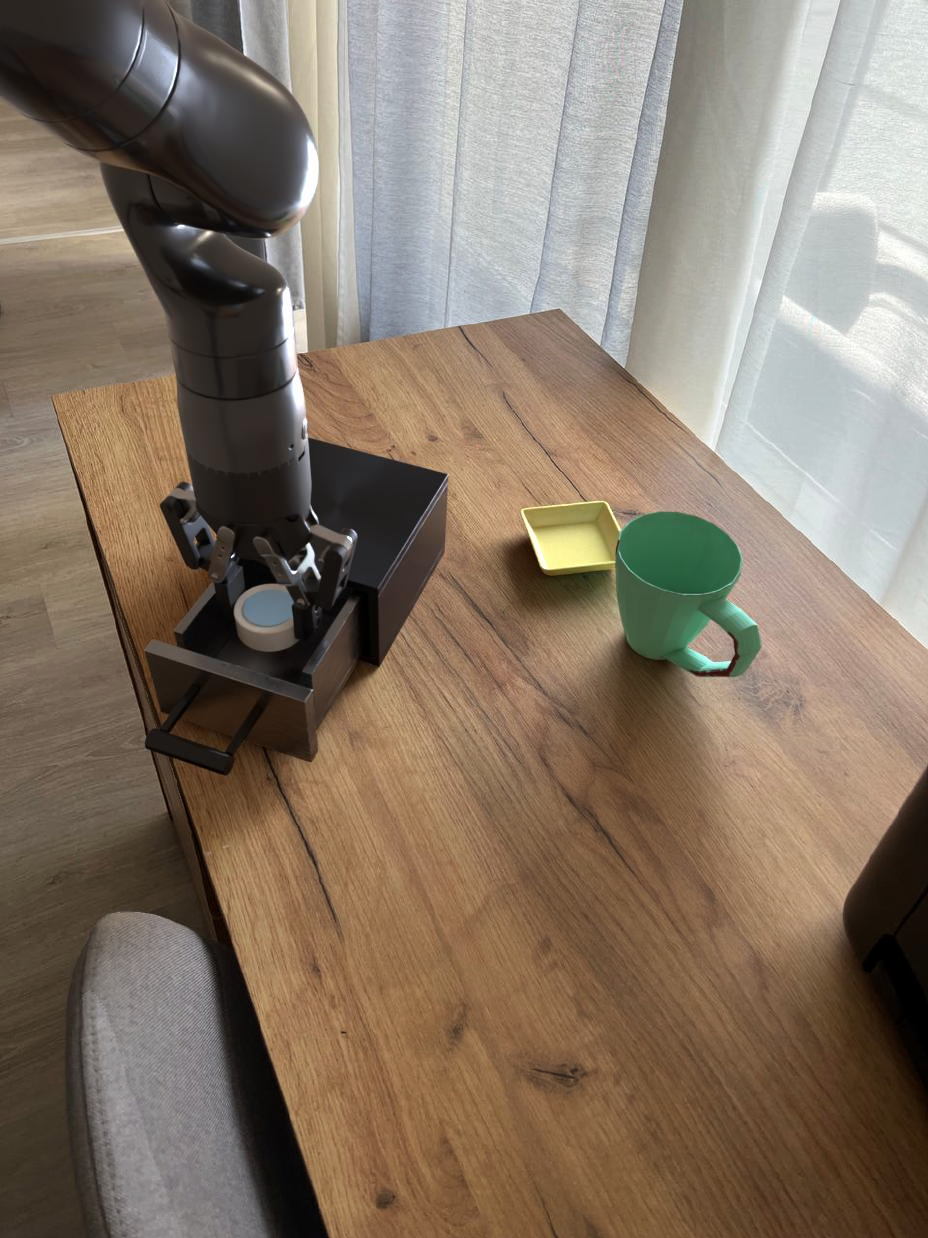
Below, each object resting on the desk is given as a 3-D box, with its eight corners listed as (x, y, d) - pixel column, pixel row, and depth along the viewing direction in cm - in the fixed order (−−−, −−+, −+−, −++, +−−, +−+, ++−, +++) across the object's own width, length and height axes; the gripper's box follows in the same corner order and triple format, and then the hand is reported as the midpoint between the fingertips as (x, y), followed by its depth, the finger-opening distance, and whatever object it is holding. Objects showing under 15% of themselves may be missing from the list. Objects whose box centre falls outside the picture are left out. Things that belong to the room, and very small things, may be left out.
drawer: (274, 827, 66) (264, 767, 61) (116, 771, 68) (94, 709, 63) (386, 633, 79) (386, 570, 74) (251, 592, 81) (241, 529, 76)
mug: (574, 619, 82) (591, 531, 75) (664, 585, 86) (689, 497, 79) (679, 742, 74) (710, 656, 67) (775, 698, 77) (814, 612, 70)
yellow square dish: (539, 587, 85) (541, 570, 83) (516, 524, 91) (518, 507, 89) (631, 578, 86) (635, 560, 85) (603, 516, 92) (606, 499, 91)
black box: (379, 667, 77) (378, 588, 71) (228, 620, 80) (214, 541, 74) (444, 551, 88) (448, 473, 81) (309, 513, 90) (302, 435, 84)
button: (268, 663, 69) (265, 644, 68) (222, 627, 71) (218, 607, 70) (321, 625, 72) (320, 606, 70) (275, 592, 74) (272, 572, 73)
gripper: (109, 436, 58) (159, 628, 70) (325, 496, 55) (338, 685, 67) (176, 375, 63) (211, 564, 75) (377, 426, 60) (380, 614, 72)
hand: (271, 620), depth 71 cm, fingers closed on button, 5 cm apart
